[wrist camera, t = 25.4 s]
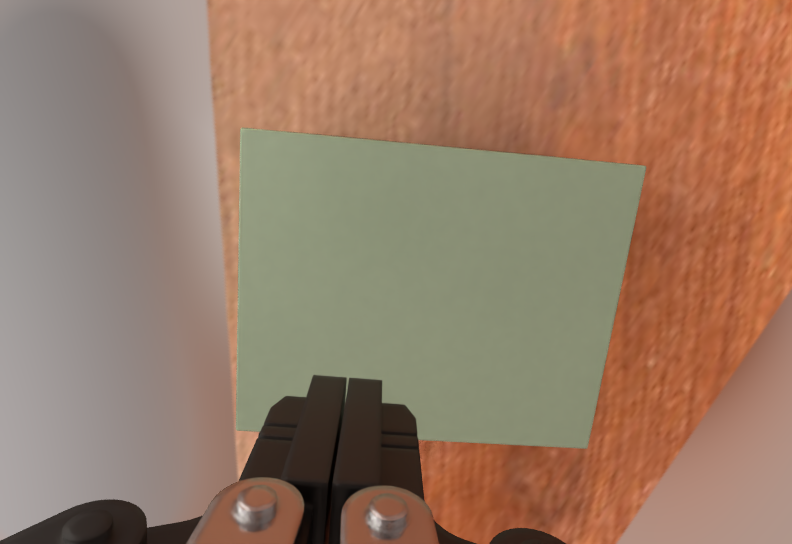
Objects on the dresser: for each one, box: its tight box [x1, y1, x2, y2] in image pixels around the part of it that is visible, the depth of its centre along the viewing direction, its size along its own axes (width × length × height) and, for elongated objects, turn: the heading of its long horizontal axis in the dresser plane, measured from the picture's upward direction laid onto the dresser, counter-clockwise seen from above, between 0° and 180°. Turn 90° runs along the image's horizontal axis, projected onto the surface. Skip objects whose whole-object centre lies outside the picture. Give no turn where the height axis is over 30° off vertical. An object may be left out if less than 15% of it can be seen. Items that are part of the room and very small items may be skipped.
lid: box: [236, 128, 646, 449], centre depth 20 cm, size 14×12×1 cm
